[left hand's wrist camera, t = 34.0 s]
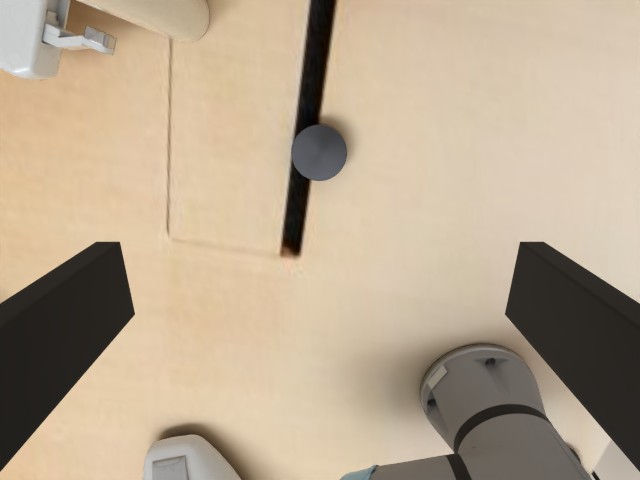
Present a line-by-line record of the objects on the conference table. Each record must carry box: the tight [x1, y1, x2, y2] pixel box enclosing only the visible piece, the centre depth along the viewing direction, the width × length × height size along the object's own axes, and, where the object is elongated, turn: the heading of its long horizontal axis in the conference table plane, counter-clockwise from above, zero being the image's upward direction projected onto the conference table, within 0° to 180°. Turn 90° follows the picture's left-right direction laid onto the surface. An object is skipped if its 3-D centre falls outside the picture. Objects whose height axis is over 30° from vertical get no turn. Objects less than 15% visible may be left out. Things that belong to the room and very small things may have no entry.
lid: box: [292, 124, 347, 181], centre depth 39 cm, size 6×6×2 cm
